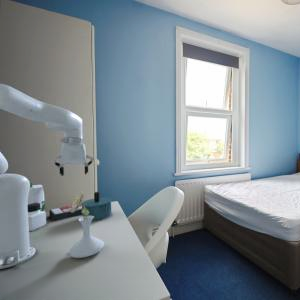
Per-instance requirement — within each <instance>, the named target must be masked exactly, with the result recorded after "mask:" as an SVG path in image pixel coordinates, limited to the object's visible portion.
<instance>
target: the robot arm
mask: <svg viewBox="0 0 300 300" xmlns="http://www.w3.org/2000/svg"><path fill="white" fill-rule="evenodd" d="M0 110H3V111H5V112H7V113H10V114H13V115H16V116H18V117H20V118H23V119H25V120H29V121H33V122H34V121H35V122H41V123H42V122H43V123H44V125H45V127H46V128H47V129H49V130H51V131H59V132H61V131H63V134H64V135H63V136H64V137H63V138H60V142H62V143H63V144H62V145H61V151H60V155H59V156H56V157H54V158H52V159H51V160H52V162H53V163H54V165H55V166H56V167H58V168H59V175H60V176H61V177H63V176H64V175H65V165H74V164H75V165H77V164H79V165H80V164H83V166H84V175H87V174H88V173H89V166H91V164H93V162H94V160H95V157H93V156H91V155H88V154H87V150H86V145H85V144H84V140H83V138H84V137H83V135H84V133H83V132H84V131H83V118H81V117H80V116H79V115H78V114H76V113H74V112H72V111H71V110H69V109H66V108H63V107H61V106H57V105H53V104H52V103H47V102H44V101H40V100H38V99H36V98H34V97H32V96H30V95H28V94H26V93H24V92H23V91H20V90H18V89H17V88H14V87H13V86H10V85H8V84H4V83H0ZM87 159H89V162H87ZM58 160H60V163H59V162H58ZM8 168H9V163H8V160H7V159H6V157H5V155H4V154H3V153H2V152H1V151H0V270H3V269H7V268H11V267H14V266H17V265H18V264H20V263H22V262H25V261H27V260H28V259H30V258H32V257H34V255H35V254H36V251H37V250H36V248H34V247H31V245H30V244H31V242H30V231H29V224H28V206H27V205H28V195H29V190H30V183H31V182H30V180H29V179H28V178H27V177H26V176H24V175H22V174H18V173H6V172H7V171H8Z"/></svg>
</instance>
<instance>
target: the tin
mask: <svg viewBox="0 0 300 300" xmlns="http://www.w3.org/2000/svg"><path fill="white" fill-rule="evenodd" d="M83 208H84V207H83V206H82V209H83ZM85 208H86V209H87V210H88V211H89V214H88V215H87V216H94V218H93V219H92V221H91V222H97V221H102V220H105V219H109V218H110V217H111V216H112V202H110V203H108V204H105V205H101V206H95V207H85ZM84 216H85V215H84V214H82V215H81V217H84Z"/></svg>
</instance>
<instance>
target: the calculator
mask: <svg viewBox="0 0 300 300" xmlns="http://www.w3.org/2000/svg"><path fill="white" fill-rule="evenodd" d="M72 206H73V205H67V206H61V207H57V208H52V209H49V211H48V212H49V214H48V215H49V218H50V219H51V220H52V221H54V222H55V221H59V220H63V219H68V218H72V217H77V216H82V206H81V205H80V206H79V207H78V209H77V210H76V211H75V212H72V213H71V211H72V210H70V209H71V208H72Z"/></svg>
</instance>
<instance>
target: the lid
mask: <svg viewBox="0 0 300 300" xmlns="http://www.w3.org/2000/svg"><path fill="white" fill-rule="evenodd" d="M110 202H111V203H112V202H113V199H112V198H111V197H100V191H94V193H93V198H91V199H87V200H84V201H82V203H83V205H84V206H85V207H95V206H101V205H105V204H108V203H110ZM83 205H82V204H81V206H83Z"/></svg>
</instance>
